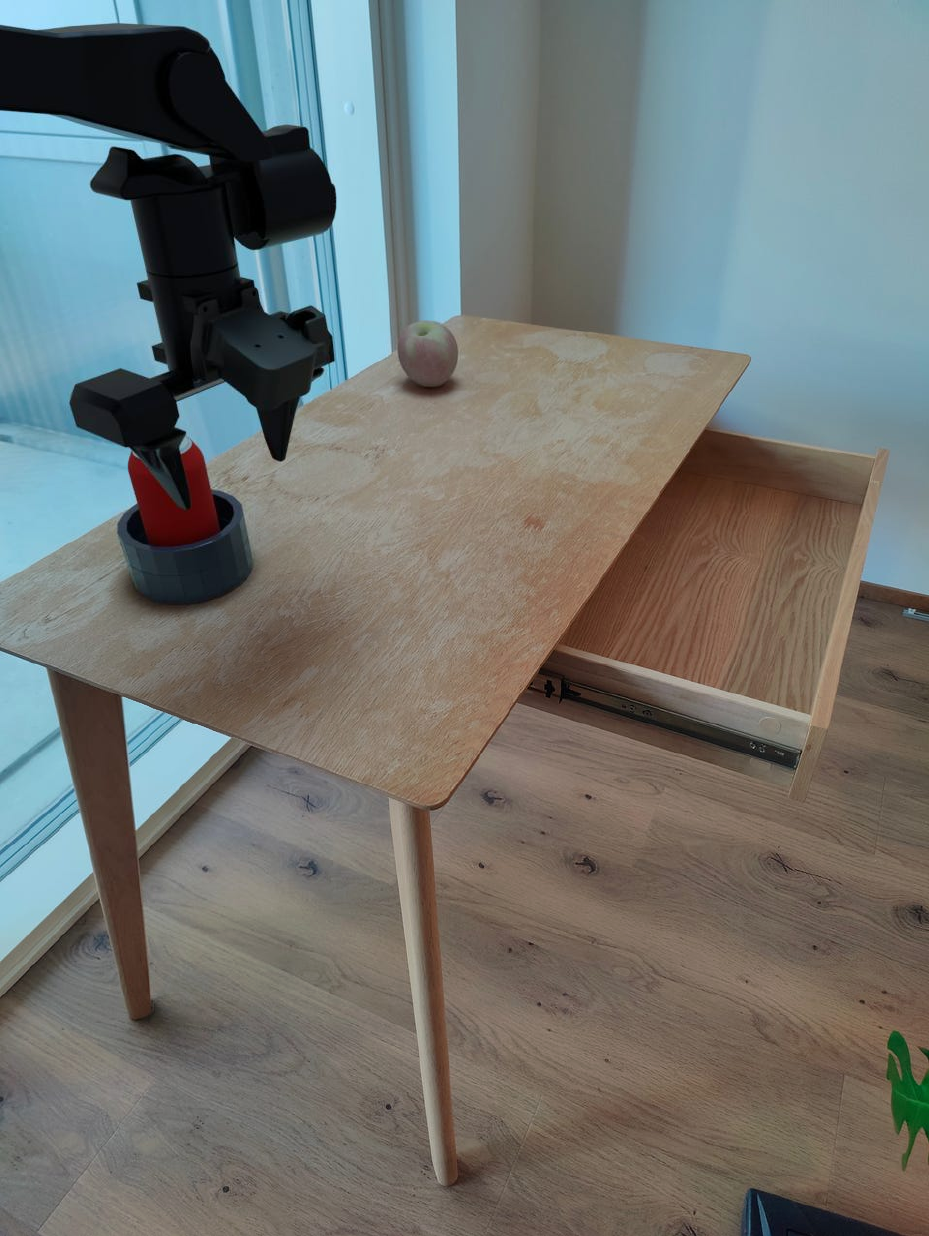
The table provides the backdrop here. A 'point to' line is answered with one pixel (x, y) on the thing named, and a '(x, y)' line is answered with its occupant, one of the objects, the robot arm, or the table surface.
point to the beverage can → (160, 510)
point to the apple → (428, 353)
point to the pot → (189, 557)
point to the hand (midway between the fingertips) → (234, 482)
